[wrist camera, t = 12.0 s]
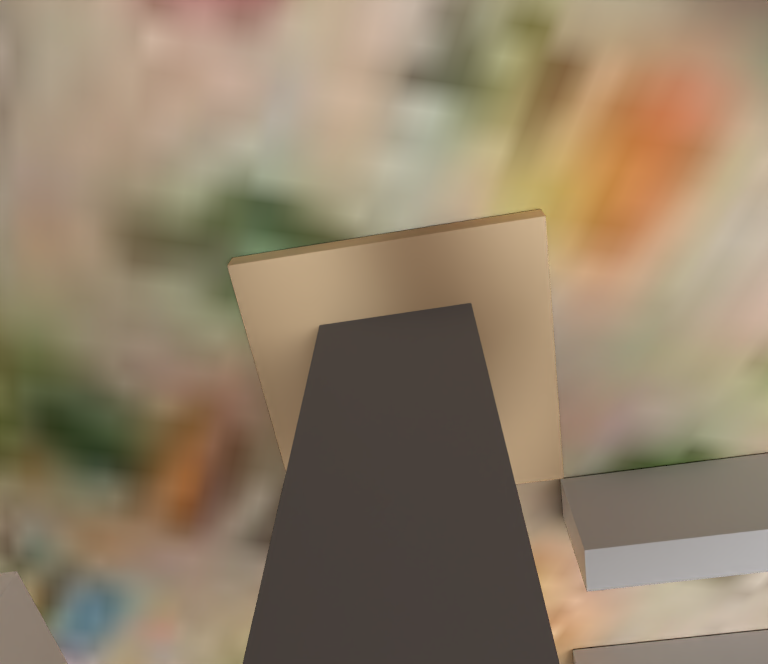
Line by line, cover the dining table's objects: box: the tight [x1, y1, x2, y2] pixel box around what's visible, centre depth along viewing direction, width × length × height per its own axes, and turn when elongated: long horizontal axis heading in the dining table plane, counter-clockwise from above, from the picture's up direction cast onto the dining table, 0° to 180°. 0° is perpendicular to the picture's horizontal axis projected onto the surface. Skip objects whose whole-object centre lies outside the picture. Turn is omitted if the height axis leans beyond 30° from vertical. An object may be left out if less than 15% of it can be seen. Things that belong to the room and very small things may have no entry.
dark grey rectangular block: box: [243, 303, 559, 664], centre depth 13 cm, size 4×4×14 cm
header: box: [560, 453, 768, 664], centre depth 21 cm, size 10×9×3 cm
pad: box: [227, 209, 564, 484], centre depth 19 cm, size 8×8×1 cm
